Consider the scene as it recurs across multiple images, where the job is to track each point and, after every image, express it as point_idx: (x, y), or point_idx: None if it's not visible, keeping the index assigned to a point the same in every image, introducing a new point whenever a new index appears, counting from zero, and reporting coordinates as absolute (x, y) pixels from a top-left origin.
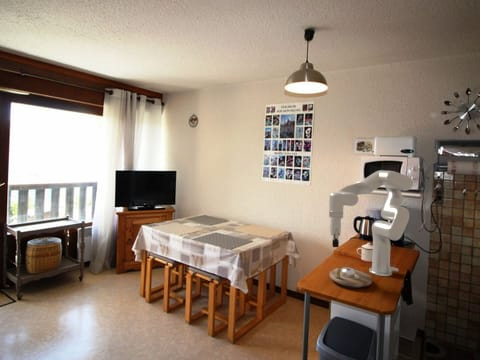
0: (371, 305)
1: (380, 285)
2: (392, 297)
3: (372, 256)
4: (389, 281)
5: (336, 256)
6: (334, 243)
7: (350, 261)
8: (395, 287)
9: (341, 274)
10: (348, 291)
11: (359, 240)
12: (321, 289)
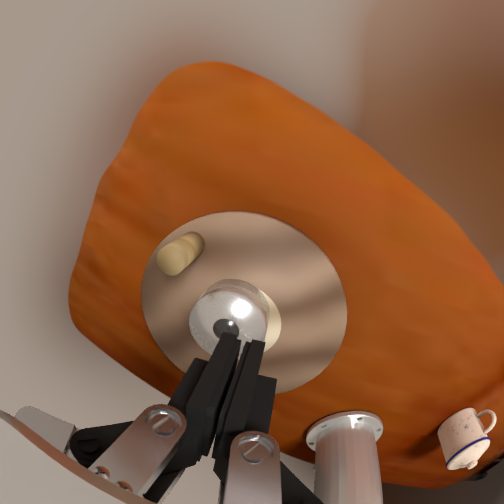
0: (74, 290)
1: None
2: (137, 373)
3: (442, 443)
4: None
5: None
6: (184, 379)
7: (470, 373)
8: None
9: (236, 280)
10: (142, 259)
11: None
12: (144, 144)
